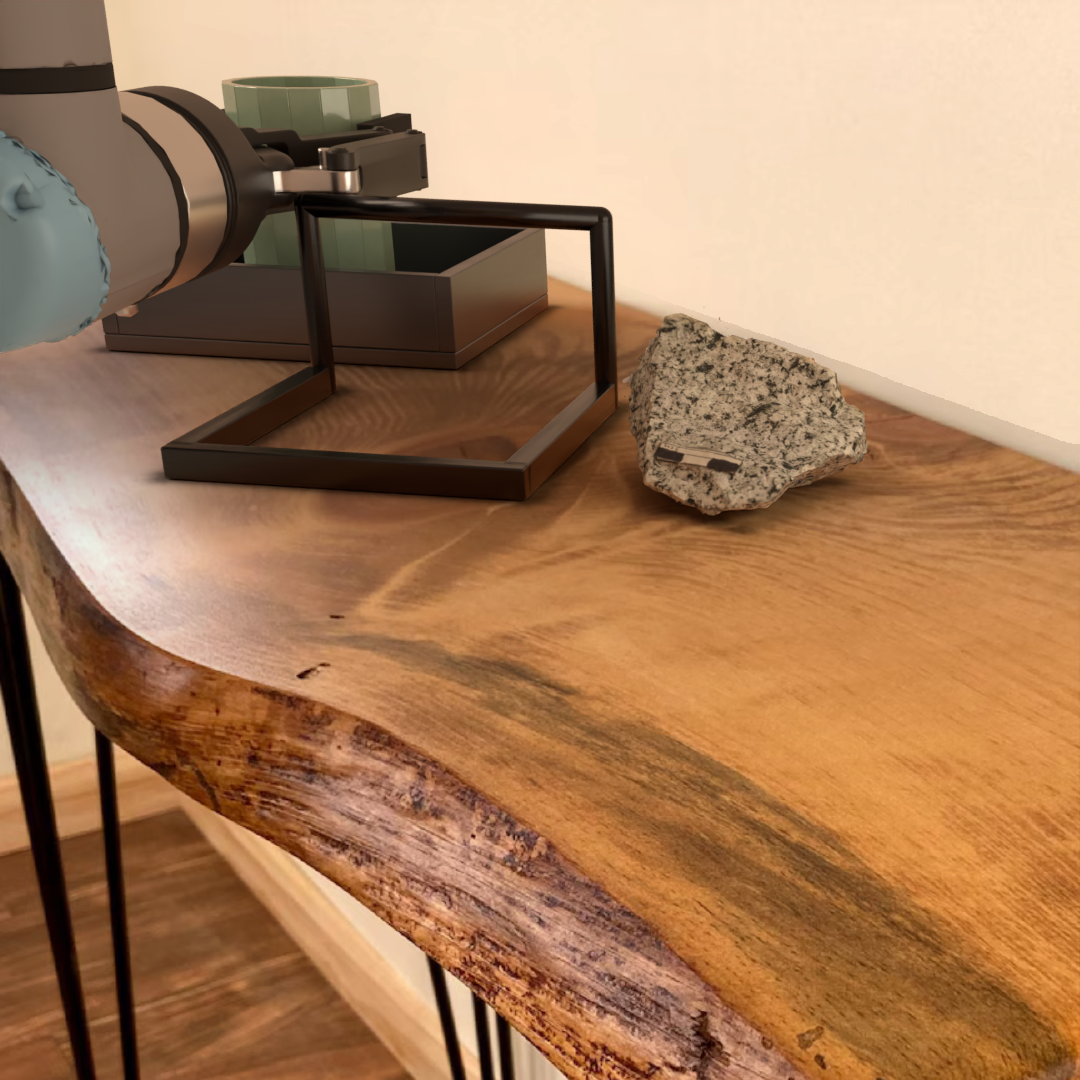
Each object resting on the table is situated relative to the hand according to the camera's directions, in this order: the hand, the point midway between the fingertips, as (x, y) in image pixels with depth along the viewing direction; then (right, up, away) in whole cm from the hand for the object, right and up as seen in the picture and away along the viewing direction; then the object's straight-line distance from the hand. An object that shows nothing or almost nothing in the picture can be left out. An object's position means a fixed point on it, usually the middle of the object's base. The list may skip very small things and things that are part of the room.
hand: (328, 137), depth 92 cm
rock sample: (+23, -23, -24) cm, 41 cm away
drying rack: (+9, -20, -19) cm, 29 cm away
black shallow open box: (0, -10, +1) cm, 10 cm away
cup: (0, -9, +1) cm, 9 cm away
